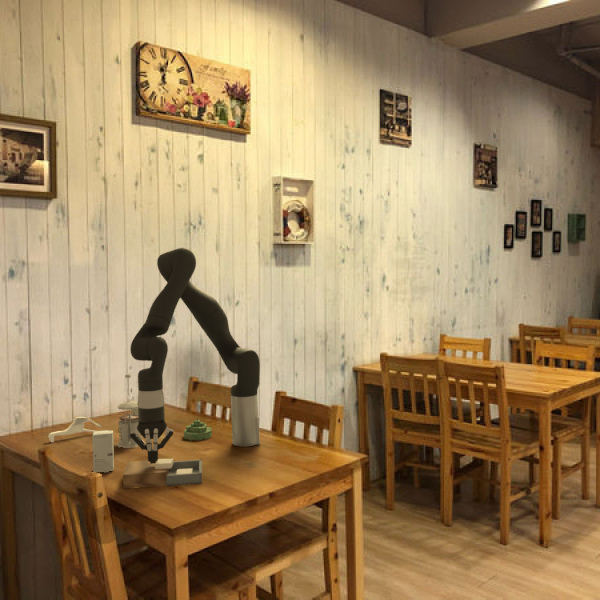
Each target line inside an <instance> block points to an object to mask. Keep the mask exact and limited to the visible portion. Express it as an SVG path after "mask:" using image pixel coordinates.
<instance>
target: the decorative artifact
mask: <svg viewBox="0 0 600 600" xmlns="http://www.w3.org/2000/svg"><path fill="white" fill-rule="evenodd" d="M212 429H213V428H211V427H210V426H207V424H206V422H203V421H201V419H199V418H198V417H196V420H193V422H192V423H190V424H189V425H186V426H185V429H183V439H184V440H186V439H189V440H188V441H192V440H198V441H203V440H202V439H205V440H208V439H210V437H211V436H213V434H212V433H213V431H212ZM207 438H208V439H207ZM211 438H212V437H211Z"/></svg>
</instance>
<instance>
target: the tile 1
mask: <svg viewBox="0 0 600 600" xmlns="http://www.w3.org/2000/svg"><path fill="white" fill-rule="evenodd" d="M174 461H175V460H174V458H158V460H157V462H156V464H155V469H167V468H172V466H173V464H174Z"/></svg>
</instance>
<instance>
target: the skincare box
mask: <svg viewBox="0 0 600 600" xmlns="http://www.w3.org/2000/svg"><path fill="white" fill-rule="evenodd" d="M91 436H92V439H91V440H92V471H93V472H104V473H110V472H109V471H113V472H114V468H115V457H114V454H115V453H114V452H115V451H114V430H113V429H110V430H109V429H108V430H107V429H106V430H94V432H92V435H91ZM93 472H92V473H93Z"/></svg>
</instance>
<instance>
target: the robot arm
mask: <svg viewBox="0 0 600 600" xmlns="http://www.w3.org/2000/svg"><path fill="white" fill-rule="evenodd" d="M156 261H157V262H156V263H157V264H156V266H157V270H158V271H159V274H160V275H161V276H162V278H163V279H164V280H165V281H166V282H167V283H166V284H165V285H164V287H163V288H162V289H161V291H160V292H159V293H158V295H157V296H156V298H155V299H154V301H153V302H152V304H151V306H150V307H149V308H150V309H149V311H148V314H147V316H146V320H145V323H143V324H142V326H141V328H140V329H139V330H138V331H137V333H136V335H135V336H134V338H133V339H132V341H131V343H130V355H131V356H132V358H133V359H134V360H136V361H139V362H141V361H142V362H145V361H146V362H151V365H150V367H147V368H143V369H141V370H139V372H138V373H137V388H138V391H137V393H138V394H137V401H136V402H137V404H138V421H139V423H138V426H137V429H136V430H135V431H133V432H131V434H130V437H131V438H132V439H133V440H134V441H135V442H136V443H137V445H138V447H139V448H140V449H141V450H142V451H143V450H145V451H147V461H149V462H150V463H151V464H152V463H156V461H157V460H158V459H159V450H161V449H163V448H164V447H165V446H166V444H167V443H168V442H169V440H171V438H172V436H173V435H174V432H175V431H174V429H173V428H169V427H168V425H167V423H166V416H165V414H166V413H165V395H164V394H165V393H164V385H163V383H164V382H163V381H164V380H163V379H164V378H163V374H164V369H165V363H166V361H167V357H168V352H169V347H168V343H167V341H166V339H164V337H161V336H163V335H165V334H167V332H168V331H169V328H170V326H171V324H172V323H171V322H172V320H173V316H174V313H175V311H176V308H177V306H178V303H179V301H180V299H181V301H182V302H183V303H184V304H185V306H186V307H187V309H188V310H189V312H190V314H191V315H192V316H193V317H194V319H195V320H196V322H197V323H198V325H199V326H200V328H201V330H203V332H204V333H205V334H206V336H207V337H208V339H209V340H210V341H211V343H212V345H213V346H214V347H215V348H216V350H217V352H218V355H219V356H220V359H221V360H222V362H223V364H224V365H225V367H226V369H227V370H228V371H229V372H230V373H232V374H234V375H237V378H236V379H237V381H236V384H234V385H232V386H231V388H230V406H231V407H230V409H231V410H230V411H231V412H230V413H231V434H232V435H231V436H232V437H231V438H232V441H231V442H232V445H233V446H236V447H250V446H251V447H252V446H255V445H260V444H261V443H260V417H259V407H258V406H259V403H258V402H259V401H258V400H259V399H258V397H259V396H258V389H259V387H260V379H261V378H260V373H261V371H260V369H261V367H260V366H261V364H260V362H261V361H260V357H259V354H258V353H257V352H256V351H255V350H254V349H250V348H243V347H241V345H239V344H238V342H237V341H236V340H235V338H234V336H232V334H231V331H230V327H229V325H230V324H229V320H228V316H227V314H226V312H225V311H224V309H223V308H222V306H221V305H220V303H219V302H218V301H217V300H216V299H215V297H213V296H212V295H210V294H209V293H207V292H206V291H204V290H202V289H201V288H199V287H198V286H196V285H194V283H192V281H191V278H192V277H193V275H194V274H195V273H194V272H195V270H196V267H197V259H196V256H195V254H194V252H193V251H192V250H191V248H187V247H179V248H176V249H172V250H169V251H166V252H164V253H162V254H160V255H159V256H158V257H157V259H156ZM139 434H141V436H142V438H143V439H145V441H144V440H143V439H142V440H143V441H144V442H145V443H144V442H143V441H142V440H141V438H140V437H141V436H139ZM163 434H164V435H165V436H164V438H163V439H162V440H161V441H160V442H159V438H161V436H162V435H163ZM152 439H153V440H152Z"/></svg>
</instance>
